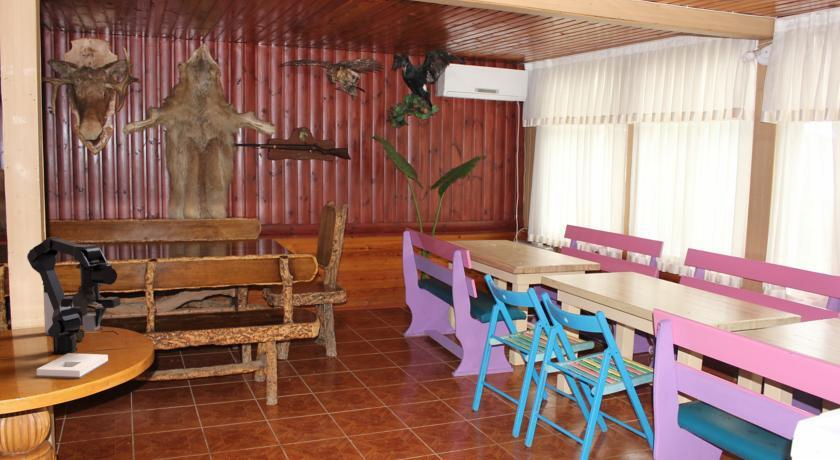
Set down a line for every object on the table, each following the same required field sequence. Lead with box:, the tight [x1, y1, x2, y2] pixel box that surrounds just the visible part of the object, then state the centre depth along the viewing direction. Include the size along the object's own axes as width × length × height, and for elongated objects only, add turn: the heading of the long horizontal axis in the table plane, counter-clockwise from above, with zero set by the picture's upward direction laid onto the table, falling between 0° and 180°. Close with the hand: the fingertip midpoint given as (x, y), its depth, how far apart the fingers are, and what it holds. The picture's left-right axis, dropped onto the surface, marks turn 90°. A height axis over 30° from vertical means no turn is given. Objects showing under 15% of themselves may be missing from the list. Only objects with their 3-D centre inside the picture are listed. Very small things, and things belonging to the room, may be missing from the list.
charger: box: [81, 313, 101, 332], centre depth 245 cm, size 4×4×5 cm
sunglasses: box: [75, 327, 119, 342], centre depth 275 cm, size 14×15×5 cm
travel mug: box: [42, 283, 54, 336], centre depth 276 cm, size 6×7×20 cm
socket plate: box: [36, 352, 109, 379], centre depth 233 cm, size 14×18×2 cm
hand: (91, 326), depth 245 cm, fingers closed on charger, 4 cm apart
